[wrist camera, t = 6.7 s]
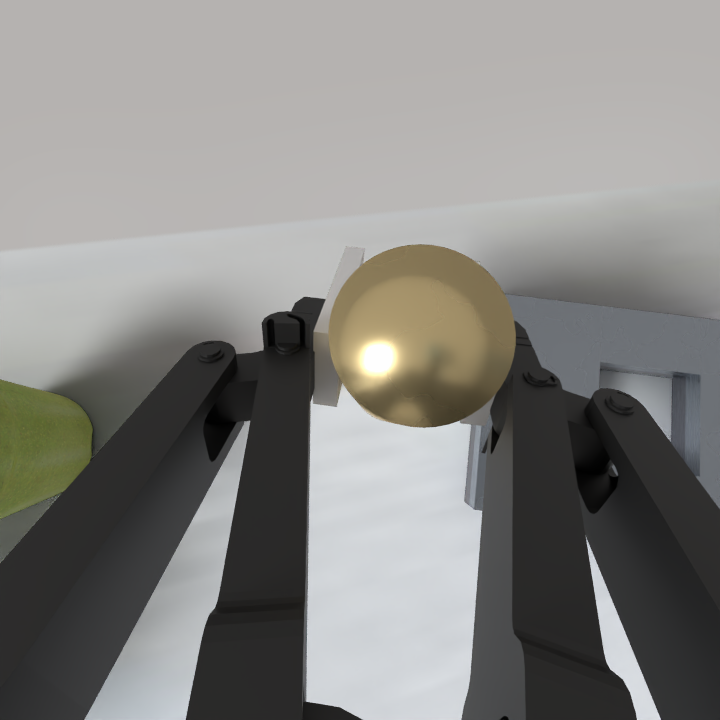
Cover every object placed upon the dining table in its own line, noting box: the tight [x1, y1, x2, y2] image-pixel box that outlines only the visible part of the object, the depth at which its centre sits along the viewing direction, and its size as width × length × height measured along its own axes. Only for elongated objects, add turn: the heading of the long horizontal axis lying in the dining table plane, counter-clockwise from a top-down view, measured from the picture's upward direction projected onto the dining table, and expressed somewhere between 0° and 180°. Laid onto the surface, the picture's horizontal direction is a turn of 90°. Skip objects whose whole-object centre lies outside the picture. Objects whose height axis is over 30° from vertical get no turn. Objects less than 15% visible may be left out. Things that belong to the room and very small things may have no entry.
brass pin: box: [328, 244, 516, 428], centre depth 14 cm, size 4×4×11 cm
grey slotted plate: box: [465, 294, 720, 511], centre depth 22 cm, size 14×12×2 cm
